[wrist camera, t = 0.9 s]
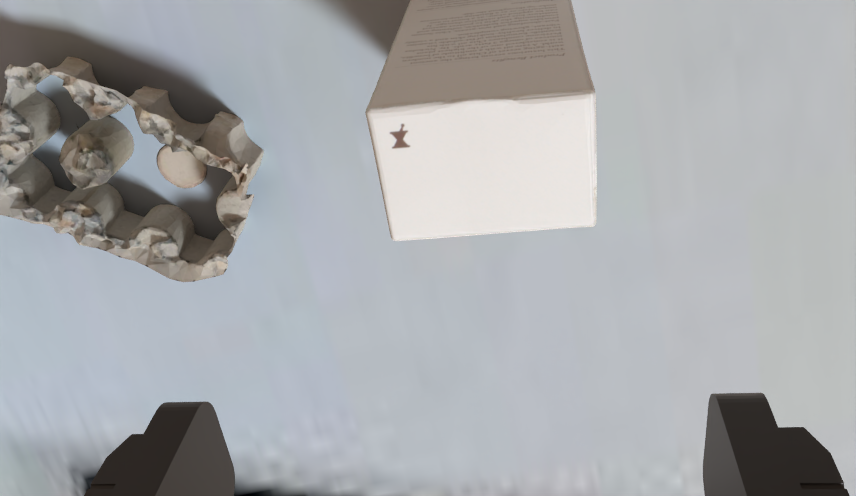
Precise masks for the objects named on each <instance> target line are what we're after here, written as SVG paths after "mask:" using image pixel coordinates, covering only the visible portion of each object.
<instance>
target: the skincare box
mask: <svg viewBox="0 0 856 496" xmlns="http://www.w3.org/2000/svg"><path fill="white" fill-rule="evenodd" d="M366 117H367V121H368V126H369V131H370V136H371V140H372V145H373V150H374V155H375V160H376V165H377V170H378V174H379V179H380V184H381V189H382V194H383V199H384V204H385V209H386V214H387V220H388V225H389V230H390V235H391V238H392V240H394V241H403V240H417V239H431V238H445V237H458V236H471V235H483V234H495V233H507V232H520V231H534V230H547V229H560V228H576V227H593V226H594V225H595V224H596V207H597V156H596V95H595V89H594V86H593V83H592V80H591V76H590V73H589V70H588V66H587V62H586V58H585V54H584V51H583V47H582V43H581V39H580V35H579V31H578V27H577V23H576V18H575V14H574V10H573V6H572V2H571V0H410V2H409V5H408V7H407V9H406V12H405V15H404V17H403V20H402V22H401V25H400V27H399V30H398V32H397V34H396V37H395V40H394V42H393V44H392V47H391V49H390V52H389V55H388V58H387V60H386V62H385V65H384V67H383V70H382V72H381V75H380V77H379V80H378V82H377V85H376V88H375V91H374V93H373V95H372V97H371V100H370V102H369V105H368V107H367V109H366Z"/></svg>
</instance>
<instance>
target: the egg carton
mask: <svg viewBox="0 0 856 496" xmlns="http://www.w3.org/2000/svg"><path fill="white" fill-rule="evenodd" d="M49 75H56V76H58V77H59V78H61V79H63V80H64V82H63V87H65V88H66V89H67V90H68V91H69V93H70V95H71V97H72V100H73V102H74V103H76V104H77V105H79V106H80V107H82V108H83V109H84V110H85V112H86V113H87V115H88V117H89V119H90V120H89V121H88V122H86V123H85V124H84V125H83V126H82V127H80V128H78V130H77V131H75V132H74V133H73V134H72V135H71V136H69V137H68V138H67V139H66V141H65V143H64V145H63V147H62V149H61V153H60V156H59V162H60V164H61V166H62V167H63V169H64V171H65V173H66V176H67V177H68V178H69V180H70V181H71V182H72V184H73V185H75V186H76V187H77V188H76V189H75V190H73V191H72V192H70V191H67V190H64V189H61V188H58V187H56V186H55V185H54V180H53V177H52V174H51V172H50V170H49V169H48V168H47V167H46V166H45V165H44V164H43V163H42V162H41V161H40V160H39V159H37V158H35V157H34V156H33V152H34V151H35V150H36V149H38V148H39V147H40V146H41V145H42V144H44V143H45V142H46V141H47V140H49V139H50V138H51V137H52V136H53V135H54V134H55V133H56V132H57V130H58V129H59V127H60V123H61V119H60V114H59V112H58V110H57V108H56V106H55V104H54V103H53V102H52V101H51V100H50V99H49V98H48V97H47V96H45V95H43V94H42V93H40V92H38V91H37V89H36V85H37V84H38V83H39V82H41V81H42V80H43V79H45V78H46V77H48V76H49ZM5 79H7V89H6V94H5V98H4V101H3V103H2V104H1V106H0V215H4V216H8V217H13V218H17V219H20V220H24V221H27V222H30V223H36V224H45V225H48V226H51V227H53V228H54V230H55V231H56V233H59V234H62V233H69V234H71V235H73V236H74V238H75V239H76V241H77V243H78V244H79V245H83V246H89V247H94V248H99V249H102V250H105V251H107V252H110V253H112V254H114V255H116V256H119V257H121V258H125V259H130V260H134V261H137V262H139V263H141V264H143V265H145V266H147V267H149V268H151V269H153V270H154V271H156V272H158V273H160V274H162V275H164V276H166V277H168V278H169V279H173V280H177V281H181V282H191V281H197V280H202V279H206V278H211V277H215V276H219V275H222V274H224V272H225V271H226V269H227V266H228V260H227V257H228V256H229V255H230V253H231V252H232V250H233V247H234V245H235V243H236V241H237V239H238V237H239V235H240V233H241V232H242V230H243V228H244V225H245V221H246V218H247V216H248V212H249V209H250V206H251V203H252V200H253V198H254V195H246V193H247V189H248V185H249V183H250V181H251V180H252V179H253V177H254V176H255V174H256V172H257V170H258V168H259V166H260V164H261V160H262V157H263V153H264V151H263V149H261V148H260V147H258V146H257V145H256V144H255V143H253V142H252V141H251V140H250V138H249V137H248V136H247V134H246V132H245V129H244V122H243V120H241V119H240V118H239V117H237V116H235V115H233V114H229V113H226V112H223V111H220V112H219V114H215V117H214V119H213V120H212V121H210V122H209V123H205V124H195V123H191V122H188V121H186V120H184V119H182V118H181V117H180V116H179V115H178V114H177V113H176V112H175V111H174V109H173V107H172V106H171V104H170V101H169V97H168V91H166V90H162V89H156V88H150V87H147V86H143V87H142V88H141V89H139V90H136V91H135V92H134V93H133V95H132V96H130V97H126V96H124V95H123V94H121V93H119V92H118V91H116V90H113V89H110V88H106V87H103V86H100V85H99V83H98V82H97V81H96V79H95V77H94V75H93V71H92V65H91V64H90V63H88V62H86V61H84V60H82V59H79V58H75V57H67V58H66V59H65V60H64V61H63V62H62V63H61V64H60V65H59V66H57V67H54V68H50V69H47V68H46V67H45V66H44V65H43V64H41V63H33V64H32V65H30V66H29V67H17V66H13V65H12V64H9V65H8V66H7V68H6V70H5ZM127 103H128V104H129V105H131V106H132V107H133V109H134V111H135V115H136V119H137V121H138V124H139V126H140V128H141V130H142V132H143V133H144V134H154V136H155V137H156V138H157V139H158V141H159V142H160V143H162V144H166V146H164V147H163V148H162V149H161V150H160V151H159V154H158V156H157V164H158V167H159V170H160V172H161V174H162V175H163V176H164V178H165V179H166V180H168V181H169V182H171V183H172V184H174V185H176V186H177V187H180V188H192V187H195V186H197V185H199V184H200V183H202V182H203V180H204V179H205V177H206V174H207V167H206V165H210V166H214V167H218V168H223V169H225V170H227V171H228V172H230V173H231V174H232V175H233V176H232V177H231V178H230V180H229V181H228V182H227V184H226V185H225V187H224V188H223V190H222V191H221V193H220V195H219V196H218V198H217V201H216V211H217V214H218V218H219V220H220V222H221V223H222V224H223V225H224V227H225V228H226V229H225V230H223V231H222V232H220V233H219V235H218V236H217V237H216V239H215V240H210V239H207V238H204V237H201V236H199V235H197V234H195V227H194V224H193V221H192V219H191V218H190V216H189V215H188V214H187V213H186V212H185V211H183V210H182V209H180V208H179V207H177V206H174V205H170V204H161V205H157V206H155V207H154V208H152V209H151V210H150V211H149V212H148V213H147V215H146V216H145V217H143V216H140V215H137V214H134V213H131V212H128V211H126V210H125V208H124V202H123V199H122V197H121V195H120V194H119V192H118V191H117V190H116V189H115V188H114V187H113V186H112V185H110V184H108V183H107V181H108V180H109V179H110V178H111V177H112V176H113V175H114V174H115V173H116V172H117V171H118V170H119V169H120V168H121V167H122V166H123V165H124V163H125V162H126V161H127V160H128V159H129V158H130V157H131V155H132V153H133V151H134V141H133V137H132V135H131V133H130V131H129V130H128V129H127V128H126V127H125V126H124V125H123V124H122V123H121V122H119V121H118V120H116V119H114V118H111V117H108V115H110V114H114V113H117V112H118V111H120V110H121V109H122V108H123V107H124V106H125V105H126V104H127ZM76 125H77V124H76ZM77 127H78V126H77ZM205 164H206V165H205Z"/></svg>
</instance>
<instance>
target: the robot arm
mask: <svg viewBox="0 0 856 496" xmlns="http://www.w3.org/2000/svg"><path fill="white" fill-rule="evenodd" d="M703 482H704V492H705V496H849V493H848V491H847V489H844V482H843V480H842V478H841V476H840V473H839V471H838V469H837V467H836V465H835V462H834V460H833V458H832V456H831V453H830V452H829V451H828V450H827V449H826V448H825V447H824V446H822V445H821V444H820V443H819V442H818V441H817V440H816V439H815V438H814V437H813V436H812V435H811V434H810V433H809V432H808V431H807V430H806V429H805V428H804V427H786V428H778V426H777V424H776V421H775V419H774V416H773V413H772V411H771V408H770V406H769V403H768V401H767V399H766V397H765V395H764V394H763V393H727V394H711V396H710V399H709V406H708V416H707V427H706V438H705V449H704V460H703ZM234 488H235V474H234V467H233V464H232V461H231V458H230V455H229V452H228V448H227V445H226V442H225V439H224V436H223V433H222V430H221V427H220V424H219V421H218V418H217V415H216V412H215V410H214V407H213V406H212V405H211V403H209V402H168V403H163V404H162V405H161V406H160V407H159V408H158V409H157V411H156V413H155V414H154V416H153V418H152V420H151V422H150V423H149V425H148V427H147V429H146V431H145V432H144V434H132V435H131V436H129V437H128V438H127V439H126V440H125V441H124V442H123V443H122V444H121V445H120V446H119V447H118V448H116V449H115V450H114V451H113V452H112V453H111V454H110V455H109V456H108V457H107V458H106V459H105V461H104V463H103V464H102V466H101V468H100V470H99V471H98V473H97V475H96V476H95V478H94V480H93V481H92V483H91V489H88V490H87V492H86V493H85V495H84V496H233V495H234Z"/></svg>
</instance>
